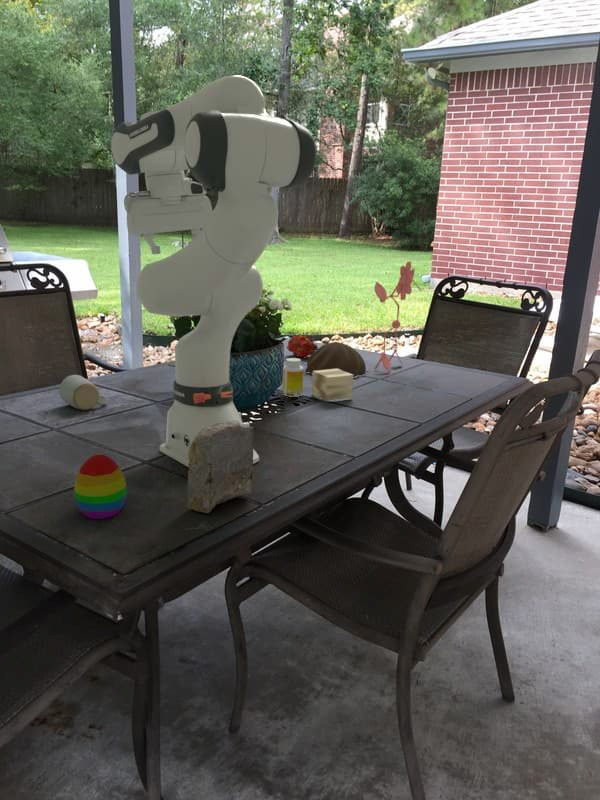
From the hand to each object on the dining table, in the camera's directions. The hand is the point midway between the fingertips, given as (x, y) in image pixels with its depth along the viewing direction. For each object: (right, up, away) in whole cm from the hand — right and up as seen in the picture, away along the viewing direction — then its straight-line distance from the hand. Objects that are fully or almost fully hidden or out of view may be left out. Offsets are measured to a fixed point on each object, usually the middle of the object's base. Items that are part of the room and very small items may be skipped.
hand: (175, 251), depth 153 cm
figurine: (+61, -25, +63) cm, 91 cm away
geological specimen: (+15, -53, -40) cm, 68 cm away
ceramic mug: (-25, -36, +13) cm, 46 cm away
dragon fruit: (+30, -19, +78) cm, 86 cm away
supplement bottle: (+27, -33, +29) cm, 52 cm away
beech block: (+38, -34, +28) cm, 58 cm away
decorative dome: (+40, -26, +58) cm, 75 cm away
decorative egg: (-4, -53, -44) cm, 69 cm away
